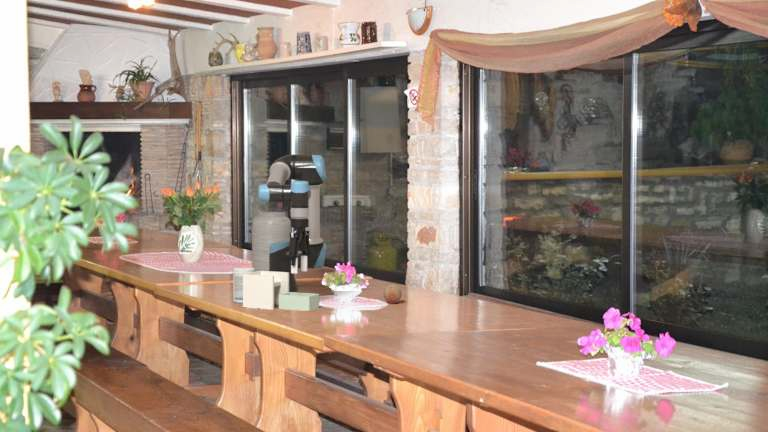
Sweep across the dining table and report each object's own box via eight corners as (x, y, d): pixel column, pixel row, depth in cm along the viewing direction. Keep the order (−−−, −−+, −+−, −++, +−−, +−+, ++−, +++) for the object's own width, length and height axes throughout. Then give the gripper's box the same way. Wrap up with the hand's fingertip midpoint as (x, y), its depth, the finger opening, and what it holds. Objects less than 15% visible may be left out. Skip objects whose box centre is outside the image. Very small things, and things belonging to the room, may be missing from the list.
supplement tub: (258, 302, 456) (259, 269, 455) (239, 304, 450) (239, 270, 449) (249, 300, 464) (249, 266, 463) (229, 301, 458) (229, 268, 457)
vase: (257, 274, 559) (257, 211, 557) (294, 275, 557) (295, 211, 555) (247, 278, 539) (247, 213, 537) (286, 279, 537) (286, 214, 535)
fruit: (380, 303, 457) (381, 285, 456) (387, 301, 464) (387, 283, 464) (398, 305, 454) (398, 286, 454) (404, 302, 462) (404, 284, 461)
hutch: (260, 302, 456) (260, 270, 455) (289, 304, 451) (289, 272, 450) (242, 307, 442) (243, 274, 441) (272, 309, 437) (272, 276, 436)
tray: (289, 305, 448) (289, 291, 447) (319, 308, 442) (319, 293, 442) (278, 309, 439) (278, 294, 438) (309, 311, 434) (309, 296, 433)
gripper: (302, 216, 449) (302, 269, 451) (279, 219, 430) (279, 274, 431) (318, 216, 446) (318, 270, 448) (296, 219, 427) (296, 275, 428)
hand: (299, 272), depth 440 cm, fingers open, 8 cm apart
